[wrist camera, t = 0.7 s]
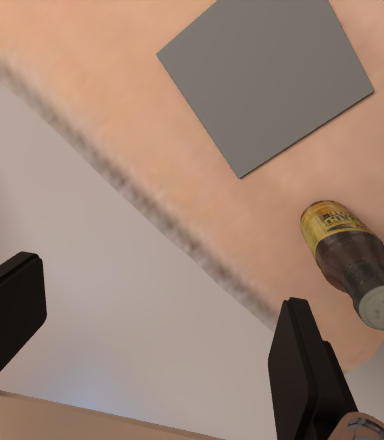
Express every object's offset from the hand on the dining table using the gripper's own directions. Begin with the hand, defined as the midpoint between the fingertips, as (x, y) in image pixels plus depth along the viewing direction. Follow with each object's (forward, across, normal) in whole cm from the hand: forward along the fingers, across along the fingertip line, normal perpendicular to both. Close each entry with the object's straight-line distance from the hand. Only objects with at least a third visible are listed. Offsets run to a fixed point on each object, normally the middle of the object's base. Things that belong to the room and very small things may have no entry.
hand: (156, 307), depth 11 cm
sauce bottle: (+31, -15, +5) cm, 35 cm away
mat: (+31, -4, -12) cm, 33 cm away
